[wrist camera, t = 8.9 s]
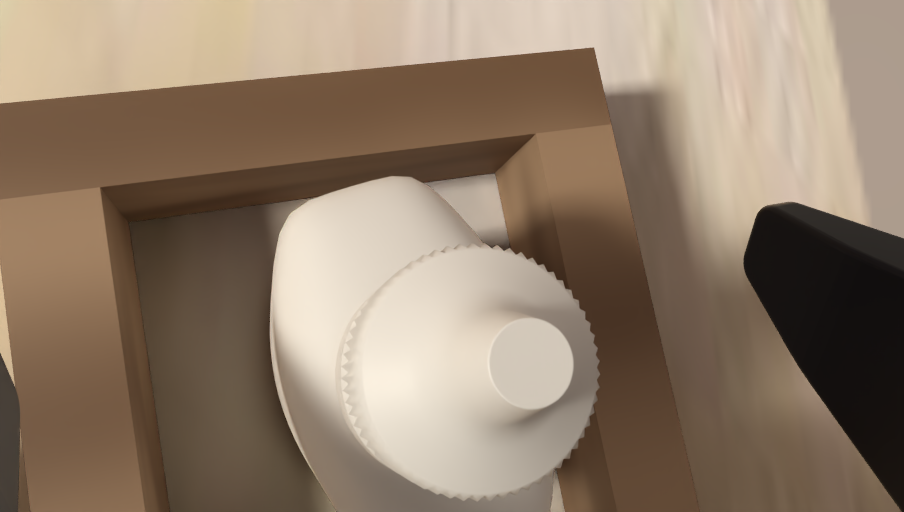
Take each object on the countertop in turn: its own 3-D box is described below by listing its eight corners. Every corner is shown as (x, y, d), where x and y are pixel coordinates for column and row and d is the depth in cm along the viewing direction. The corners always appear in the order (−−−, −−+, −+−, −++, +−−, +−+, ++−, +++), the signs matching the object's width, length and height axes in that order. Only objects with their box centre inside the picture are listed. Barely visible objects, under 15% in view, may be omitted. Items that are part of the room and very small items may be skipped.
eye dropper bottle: (232, 498, 16) (149, 749, 5) (282, 243, 18) (313, -40, 6) (430, 523, 17) (760, 786, 6) (467, 278, 18) (801, 90, 7)
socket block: (651, 581, 18) (723, 617, 15) (106, 742, 15) (68, 825, 12) (546, 97, 20) (593, 47, 17) (30, 155, 17) (-20, 105, 14)
